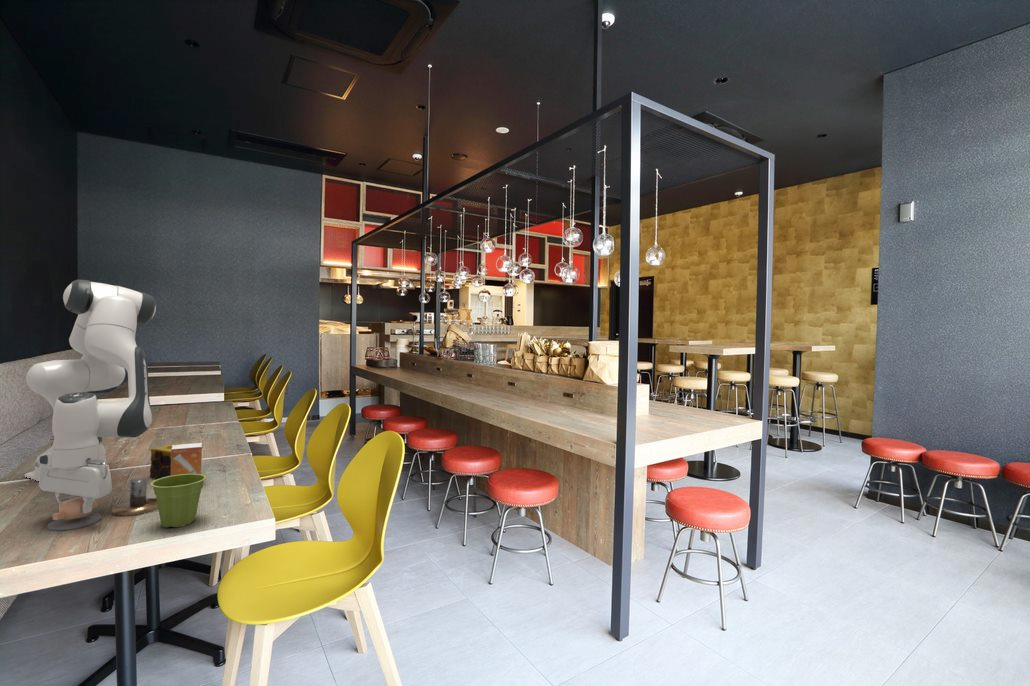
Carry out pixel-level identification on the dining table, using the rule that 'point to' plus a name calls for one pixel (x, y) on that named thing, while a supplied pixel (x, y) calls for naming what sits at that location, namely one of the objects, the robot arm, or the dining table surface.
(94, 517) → the pad
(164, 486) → the plant pot
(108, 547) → the dining table surface
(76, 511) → the cap
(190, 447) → the small box
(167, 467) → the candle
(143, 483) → the brown wide round part
